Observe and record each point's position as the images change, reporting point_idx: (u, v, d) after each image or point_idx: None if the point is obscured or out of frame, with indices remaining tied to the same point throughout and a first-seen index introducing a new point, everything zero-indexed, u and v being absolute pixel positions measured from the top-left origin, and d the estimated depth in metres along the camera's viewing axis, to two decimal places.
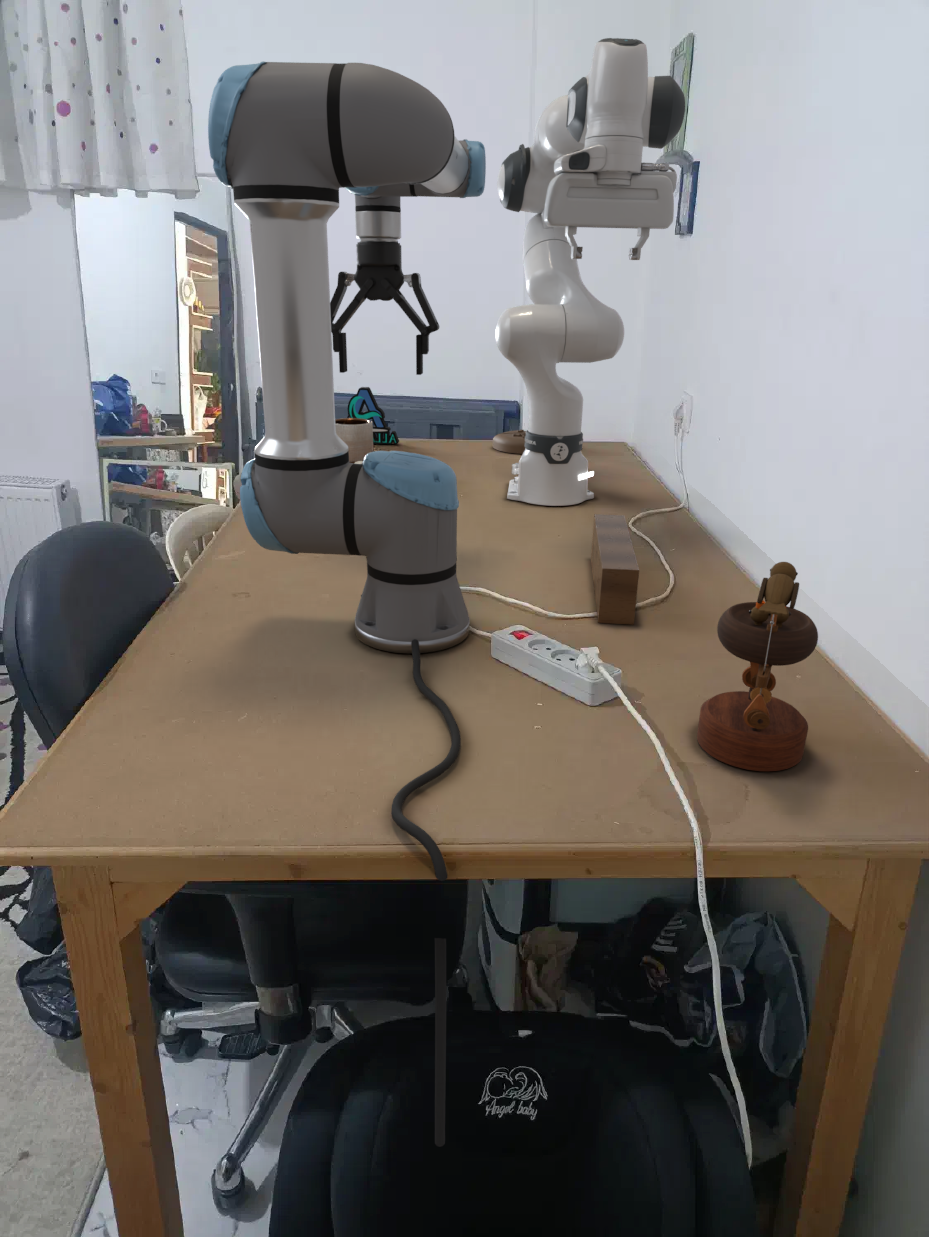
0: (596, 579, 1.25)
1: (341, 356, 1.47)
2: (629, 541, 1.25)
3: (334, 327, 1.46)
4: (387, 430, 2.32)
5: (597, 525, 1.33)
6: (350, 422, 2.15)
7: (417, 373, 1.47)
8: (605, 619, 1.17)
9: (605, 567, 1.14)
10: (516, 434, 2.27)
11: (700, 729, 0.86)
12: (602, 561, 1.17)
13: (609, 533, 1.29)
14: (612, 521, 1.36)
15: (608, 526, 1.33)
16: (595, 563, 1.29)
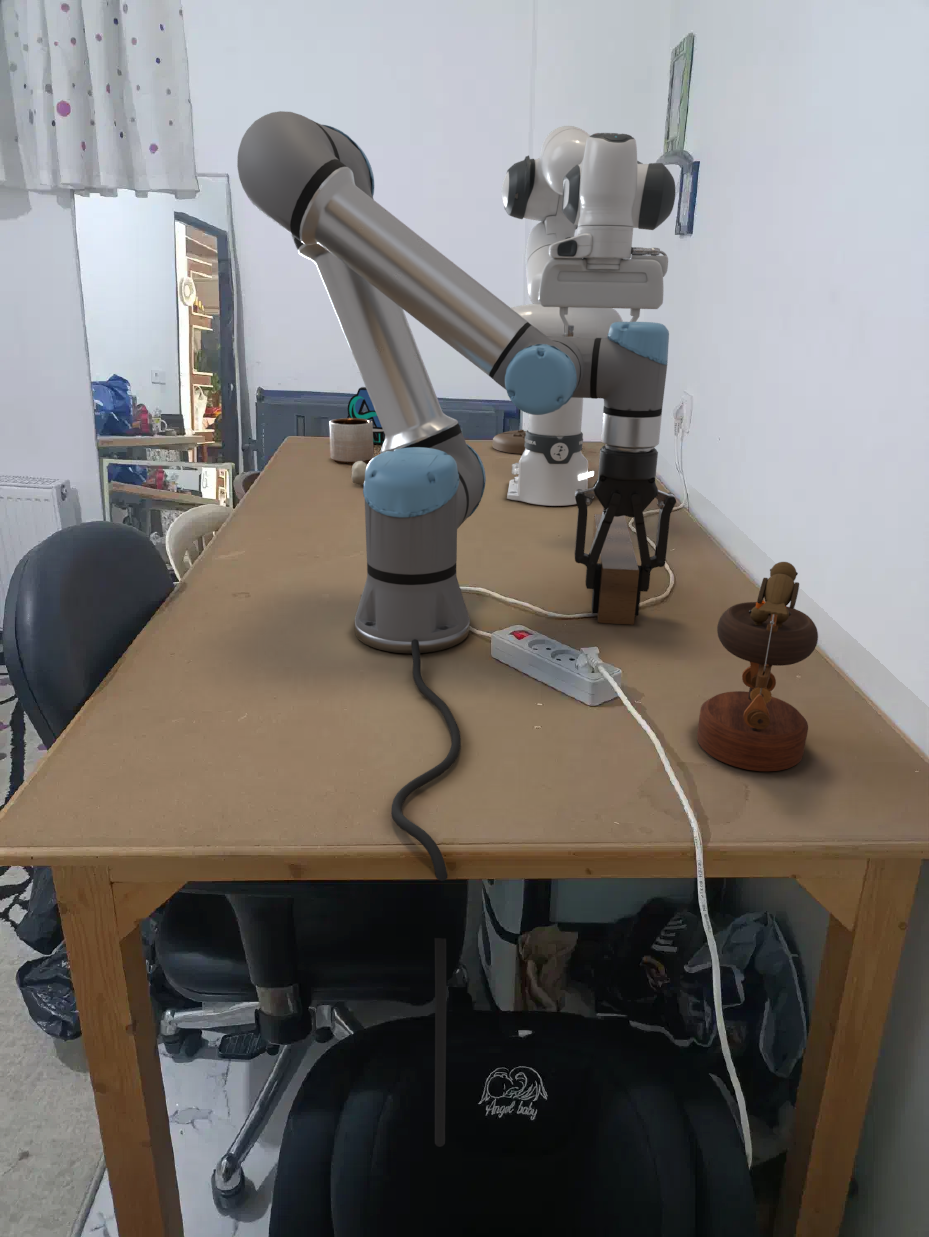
0: None
1: (596, 595, 1.18)
2: (629, 541, 1.25)
3: (590, 562, 1.16)
4: None
5: (597, 525, 1.33)
6: (350, 422, 2.15)
7: None
8: (605, 619, 1.17)
9: (605, 567, 1.14)
10: (516, 434, 2.27)
11: (700, 729, 0.86)
12: (602, 561, 1.17)
13: (609, 533, 1.29)
14: (612, 521, 1.36)
15: None
16: None
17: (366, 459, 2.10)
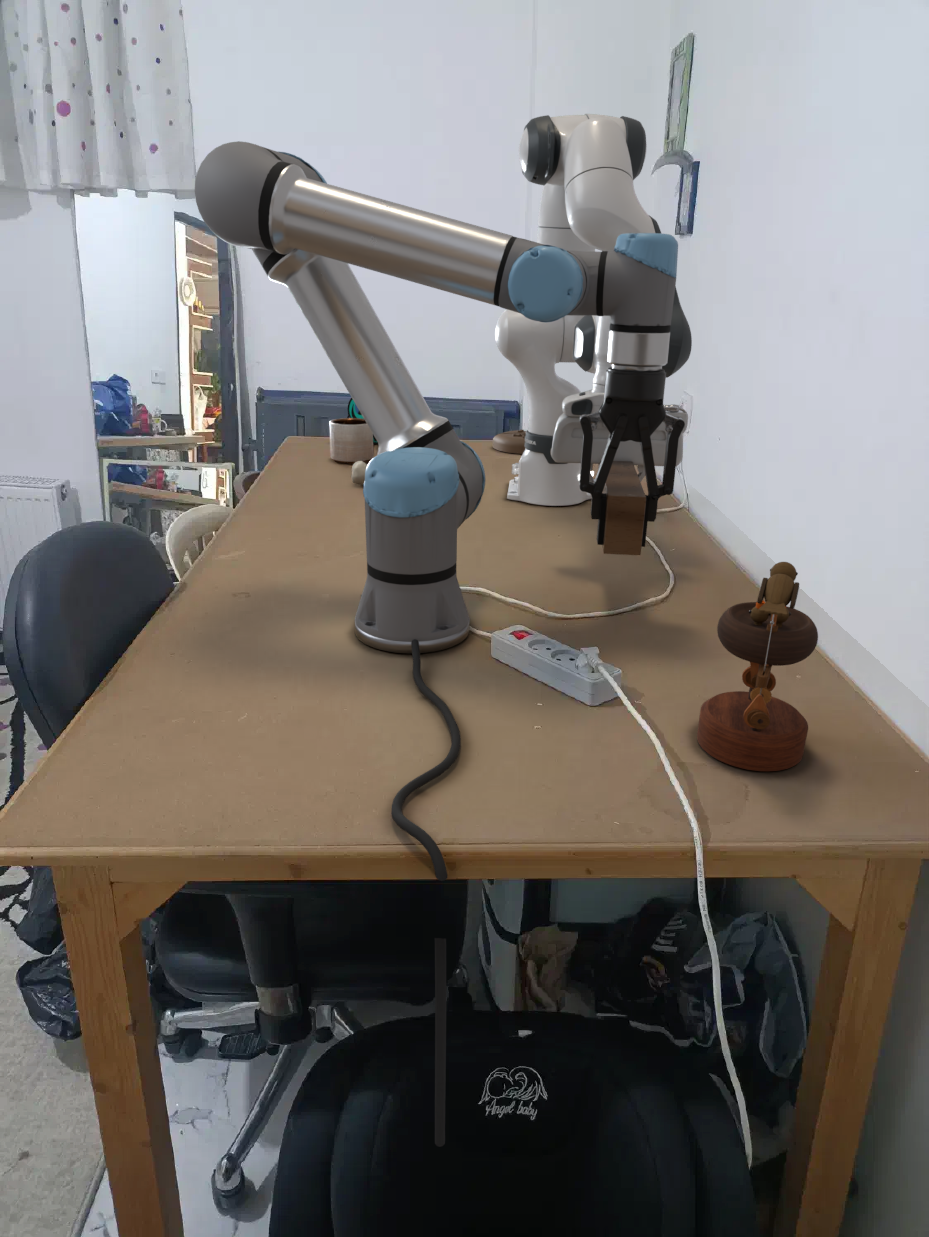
0: None
1: (602, 525, 1.14)
2: (635, 474, 1.22)
3: (596, 490, 1.12)
4: None
5: None
6: (350, 422, 2.15)
7: None
8: (611, 550, 1.13)
9: (611, 495, 1.10)
10: (516, 434, 2.27)
11: (700, 729, 0.86)
12: (608, 490, 1.13)
13: (614, 468, 1.26)
14: None
15: (614, 462, 1.29)
16: None
17: (366, 459, 2.10)
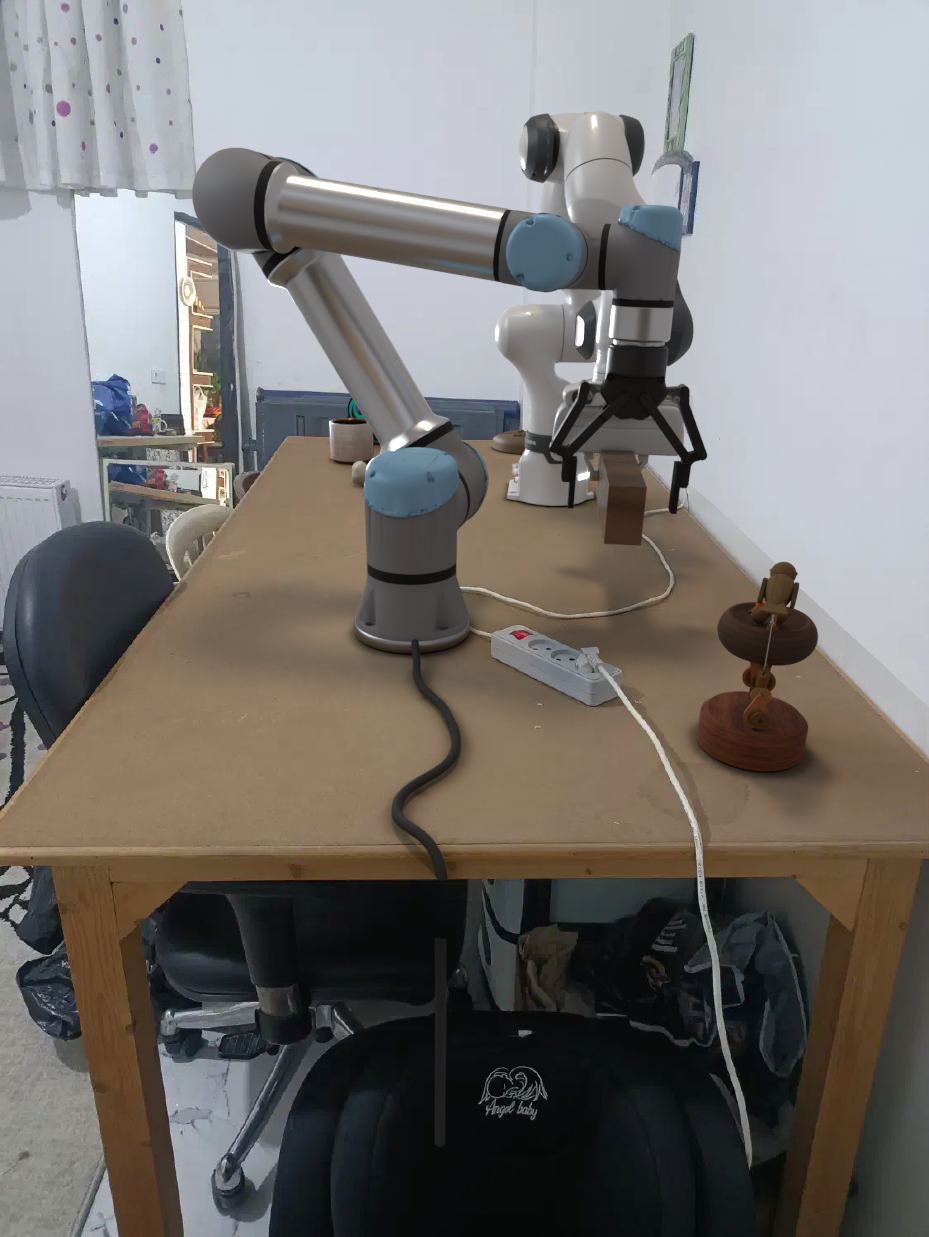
0: None
1: (572, 488, 1.12)
2: (636, 464, 1.21)
3: (567, 451, 1.10)
4: None
5: (603, 451, 1.29)
6: (350, 422, 2.15)
7: (672, 512, 1.12)
8: (611, 540, 1.13)
9: (612, 485, 1.10)
10: (516, 434, 2.27)
11: (700, 729, 0.86)
12: (608, 480, 1.13)
13: (615, 457, 1.25)
14: None
15: (614, 452, 1.29)
16: None
17: (366, 459, 2.10)
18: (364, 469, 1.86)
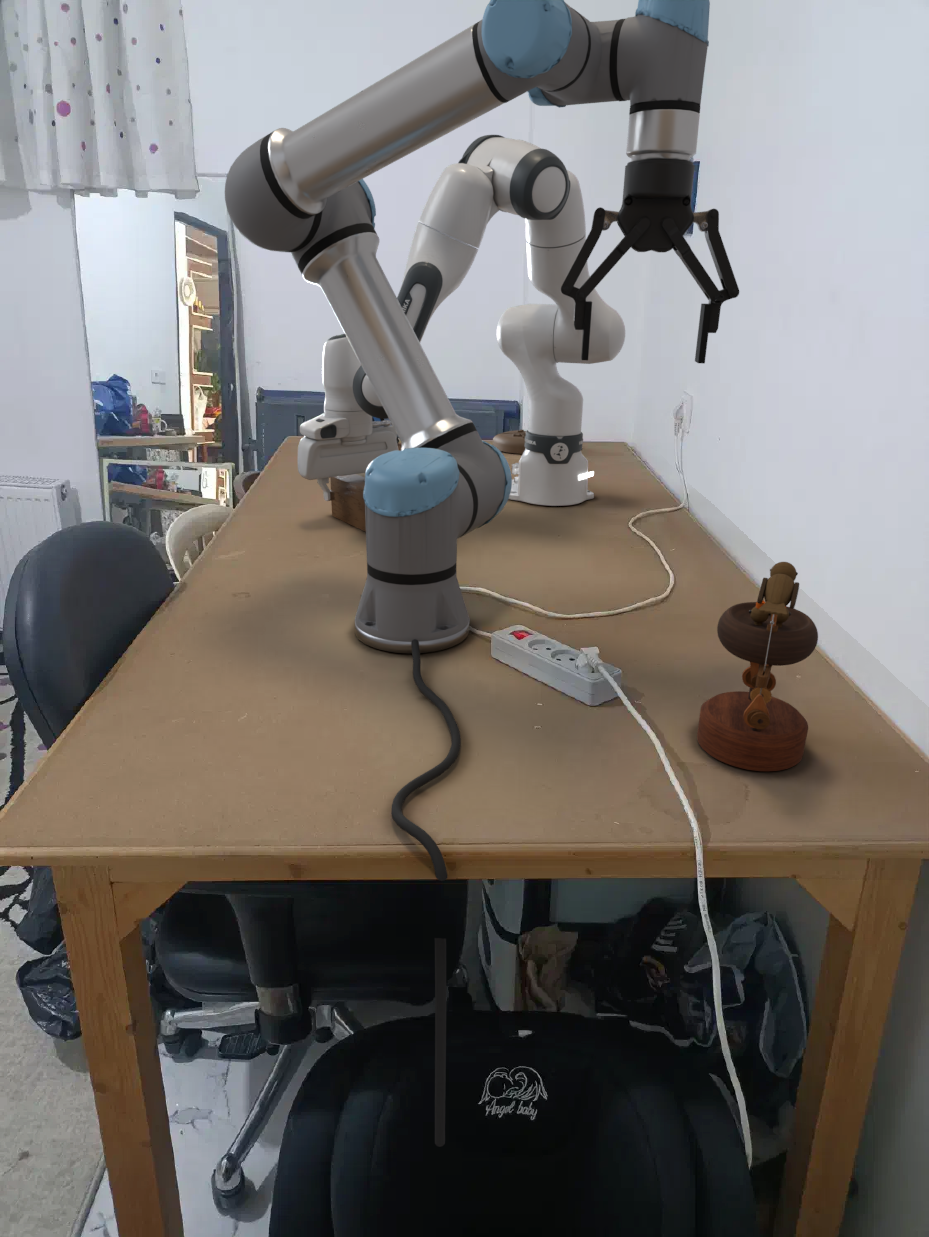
0: None
1: (587, 336, 0.99)
2: None
3: (580, 292, 0.98)
4: None
5: (348, 482, 1.57)
6: None
7: (700, 361, 0.99)
8: None
9: None
10: (516, 434, 2.27)
11: (700, 729, 0.86)
12: None
13: None
14: (352, 477, 1.61)
15: (356, 481, 1.58)
16: (363, 512, 1.55)
17: None
18: None
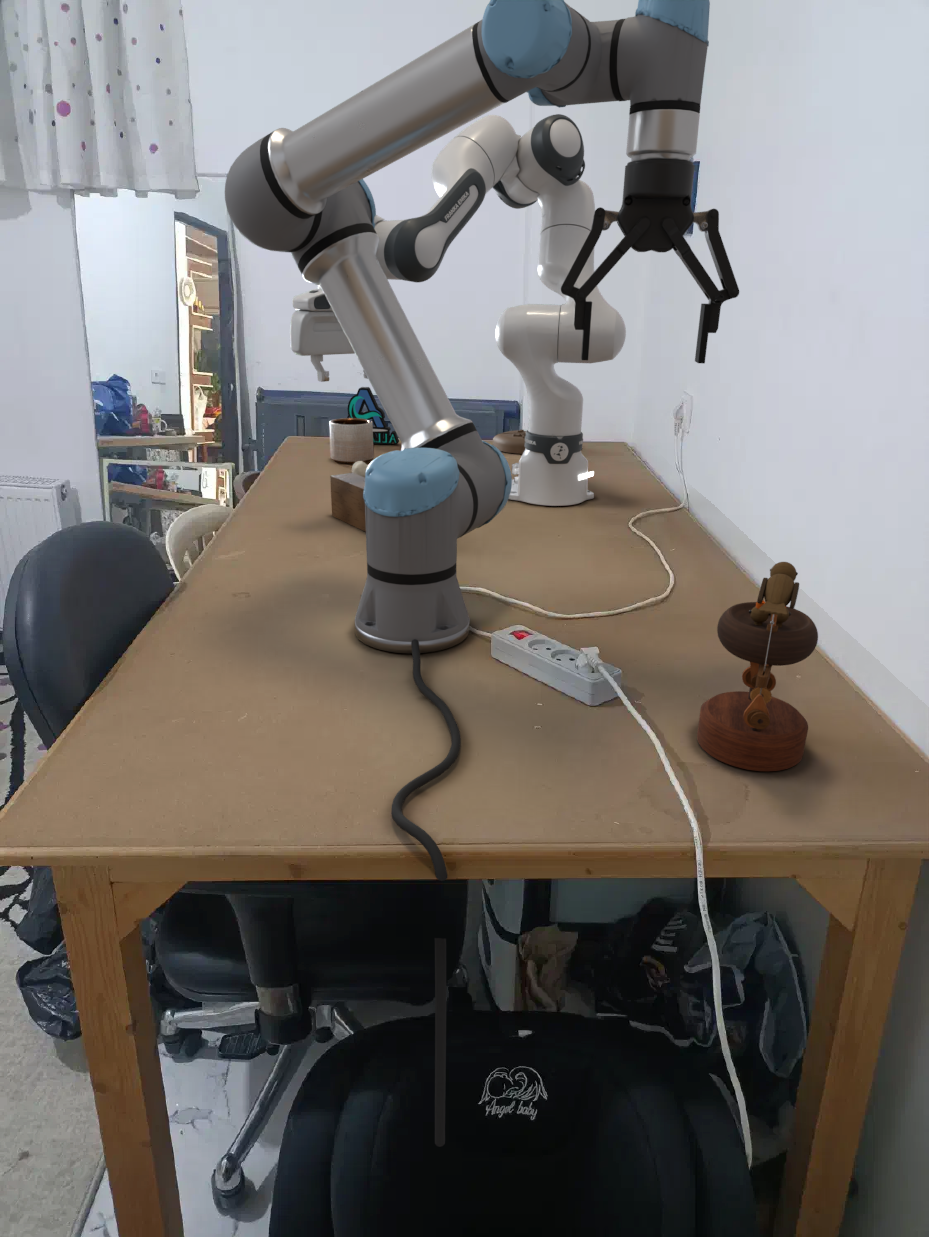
0: None
1: (587, 336, 0.99)
2: None
3: (580, 292, 0.98)
4: (387, 430, 2.32)
5: (348, 482, 1.57)
6: (350, 422, 2.15)
7: (700, 361, 0.99)
8: None
9: None
10: (516, 434, 2.27)
11: (700, 729, 0.86)
12: None
13: None
14: (352, 477, 1.61)
15: (356, 481, 1.58)
16: (363, 512, 1.55)
17: (366, 459, 2.10)
18: (364, 469, 1.86)
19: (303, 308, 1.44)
